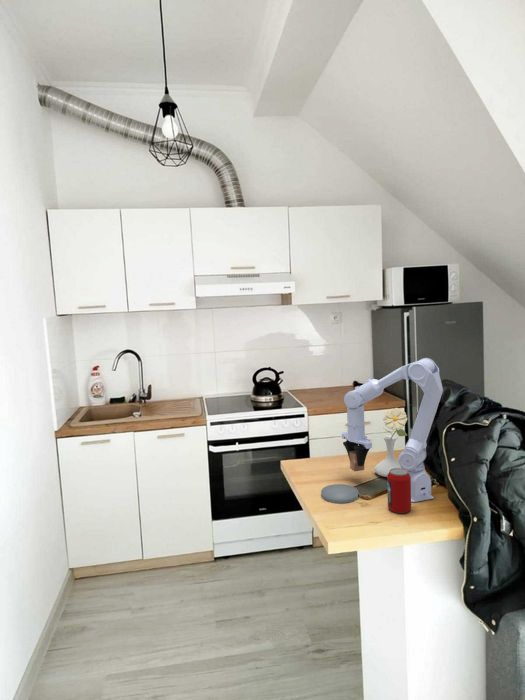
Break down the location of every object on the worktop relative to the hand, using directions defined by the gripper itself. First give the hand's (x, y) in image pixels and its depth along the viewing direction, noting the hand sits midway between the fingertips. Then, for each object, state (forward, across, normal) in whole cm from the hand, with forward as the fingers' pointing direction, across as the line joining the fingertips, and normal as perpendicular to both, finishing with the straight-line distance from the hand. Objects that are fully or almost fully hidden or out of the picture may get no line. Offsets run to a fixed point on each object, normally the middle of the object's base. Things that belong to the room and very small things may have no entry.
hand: (357, 463), depth 164 cm
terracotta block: (+2, 0, 0) cm, 2 cm away
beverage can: (+7, -23, +2) cm, 24 cm away
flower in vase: (+7, 0, -15) cm, 17 cm away
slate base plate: (+7, -5, +11) cm, 14 cm away
